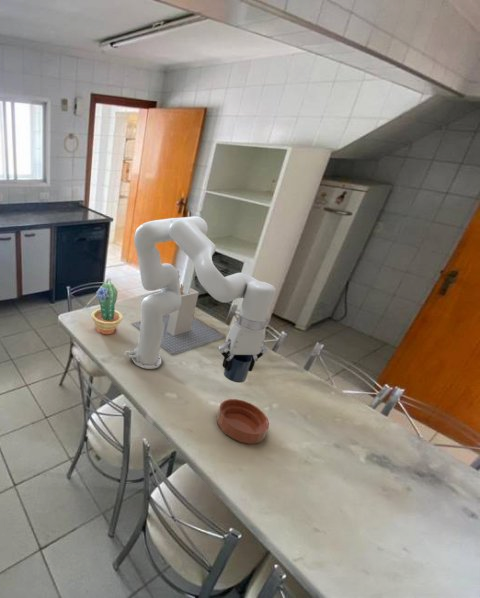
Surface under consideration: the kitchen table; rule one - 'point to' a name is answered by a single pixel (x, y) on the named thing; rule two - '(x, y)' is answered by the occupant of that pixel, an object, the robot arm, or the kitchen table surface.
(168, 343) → the grey base with block
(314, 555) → the kitchen table surface
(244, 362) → the cup
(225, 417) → the bowl
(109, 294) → the potted cactus
